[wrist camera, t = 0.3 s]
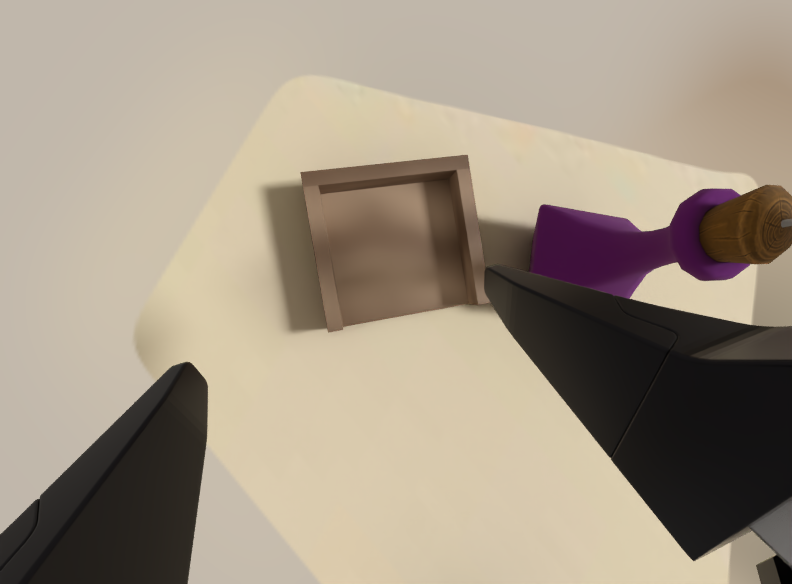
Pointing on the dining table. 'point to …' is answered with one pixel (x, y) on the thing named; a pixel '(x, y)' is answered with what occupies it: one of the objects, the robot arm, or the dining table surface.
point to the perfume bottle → (664, 240)
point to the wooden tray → (395, 239)
